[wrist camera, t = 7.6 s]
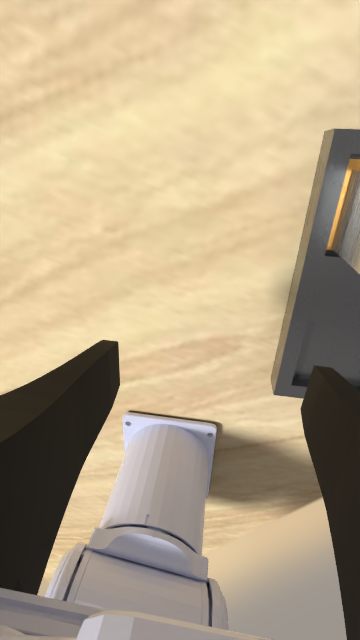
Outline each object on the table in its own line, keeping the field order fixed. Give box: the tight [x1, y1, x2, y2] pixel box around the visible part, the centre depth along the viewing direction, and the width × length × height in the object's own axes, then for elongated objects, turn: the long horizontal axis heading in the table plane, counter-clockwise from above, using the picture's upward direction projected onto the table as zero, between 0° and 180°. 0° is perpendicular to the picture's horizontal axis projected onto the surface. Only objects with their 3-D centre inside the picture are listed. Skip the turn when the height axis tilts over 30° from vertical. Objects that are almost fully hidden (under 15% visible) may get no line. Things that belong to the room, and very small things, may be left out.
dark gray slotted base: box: [271, 129, 360, 398], centre depth 19 cm, size 16×7×2 cm, turn 177°
